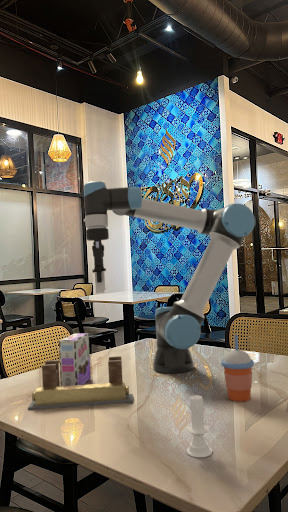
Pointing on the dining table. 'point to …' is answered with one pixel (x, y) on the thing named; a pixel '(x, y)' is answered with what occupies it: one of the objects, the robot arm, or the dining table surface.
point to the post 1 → (51, 374)
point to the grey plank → (81, 403)
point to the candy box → (74, 360)
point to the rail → (80, 393)
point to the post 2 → (115, 369)
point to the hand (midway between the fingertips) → (100, 291)
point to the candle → (198, 429)
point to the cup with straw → (238, 373)
